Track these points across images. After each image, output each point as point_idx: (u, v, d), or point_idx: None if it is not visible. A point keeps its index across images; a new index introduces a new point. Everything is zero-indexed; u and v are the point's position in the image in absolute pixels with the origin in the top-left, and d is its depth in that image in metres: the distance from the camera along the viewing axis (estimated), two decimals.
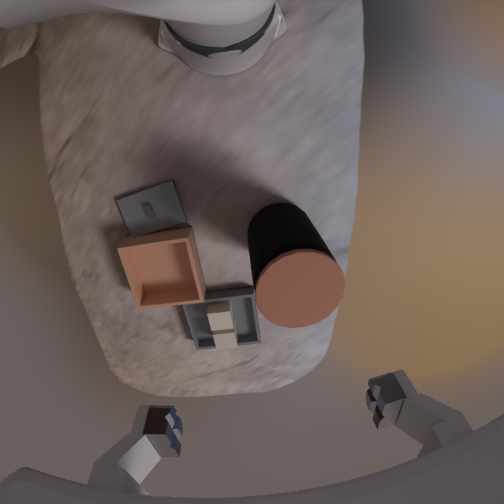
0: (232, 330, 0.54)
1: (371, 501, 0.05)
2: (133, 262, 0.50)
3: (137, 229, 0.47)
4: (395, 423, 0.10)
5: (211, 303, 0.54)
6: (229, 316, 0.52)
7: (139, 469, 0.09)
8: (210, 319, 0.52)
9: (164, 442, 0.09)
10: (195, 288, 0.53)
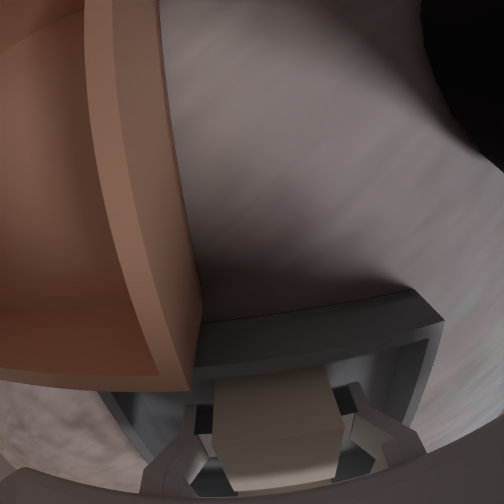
0: None
1: (371, 501, 0.05)
2: None
3: None
4: (350, 436, 0.10)
5: (232, 378, 0.10)
6: (334, 446, 0.08)
7: (188, 472, 0.09)
8: (230, 462, 0.08)
9: None
10: None
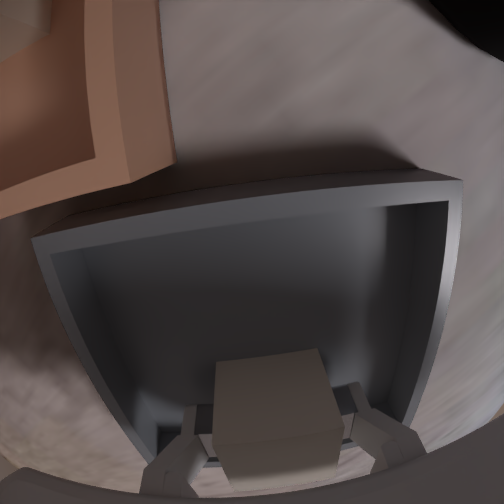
0: (329, 414, 0.08)
1: (371, 501, 0.05)
2: None
3: None
4: (350, 436, 0.10)
5: None
6: None
7: (188, 472, 0.09)
8: None
9: None
10: None
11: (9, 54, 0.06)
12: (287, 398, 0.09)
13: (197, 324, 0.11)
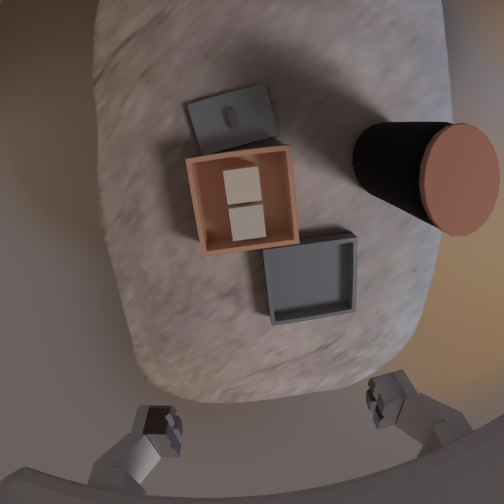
0: (259, 203, 0.36)
1: (371, 501, 0.05)
2: (199, 190, 0.37)
3: (212, 143, 0.36)
4: (395, 423, 0.10)
5: (229, 167, 0.36)
6: (256, 176, 0.34)
7: (138, 469, 0.09)
8: (227, 181, 0.34)
9: (164, 442, 0.09)
10: (281, 231, 0.40)
11: None
12: (248, 203, 0.37)
13: (294, 271, 0.43)
